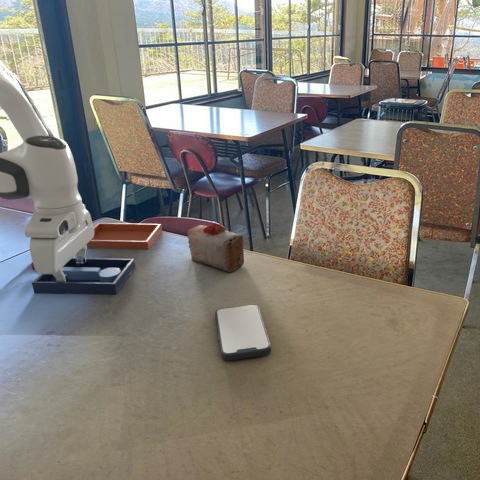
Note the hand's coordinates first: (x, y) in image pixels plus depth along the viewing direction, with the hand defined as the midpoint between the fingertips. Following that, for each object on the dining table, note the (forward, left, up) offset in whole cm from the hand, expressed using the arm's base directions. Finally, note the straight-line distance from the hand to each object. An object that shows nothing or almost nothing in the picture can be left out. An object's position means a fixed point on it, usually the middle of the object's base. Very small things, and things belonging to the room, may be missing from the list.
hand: (72, 273), depth 106 cm
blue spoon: (+4, 0, -1) cm, 4 cm away
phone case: (+40, -20, -2) cm, 45 cm away
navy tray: (+3, 0, -2) cm, 3 cm away
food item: (+30, +10, -2) cm, 32 cm away
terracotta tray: (+3, +22, -2) cm, 22 cm away
